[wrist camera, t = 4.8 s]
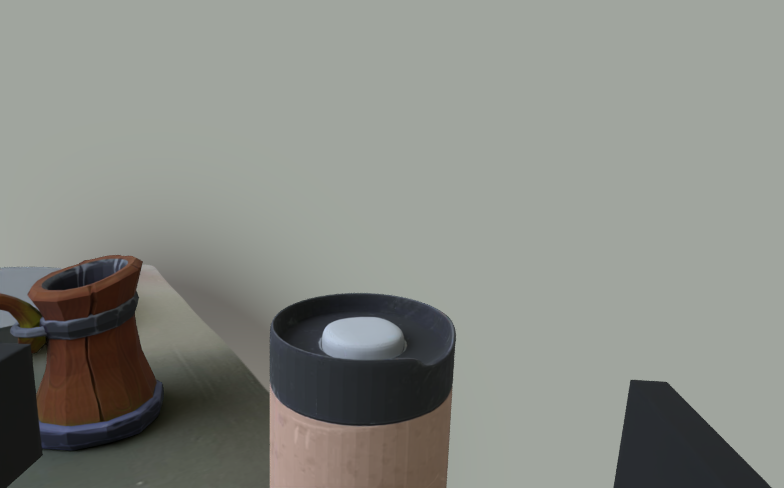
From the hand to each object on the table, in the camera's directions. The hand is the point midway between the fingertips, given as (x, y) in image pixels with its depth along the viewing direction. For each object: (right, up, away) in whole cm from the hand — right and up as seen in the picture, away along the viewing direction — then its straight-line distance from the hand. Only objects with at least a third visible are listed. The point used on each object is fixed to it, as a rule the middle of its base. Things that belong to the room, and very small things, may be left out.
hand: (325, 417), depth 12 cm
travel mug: (-1, -19, +14) cm, 24 cm away
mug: (-29, -13, +36) cm, 48 cm away
